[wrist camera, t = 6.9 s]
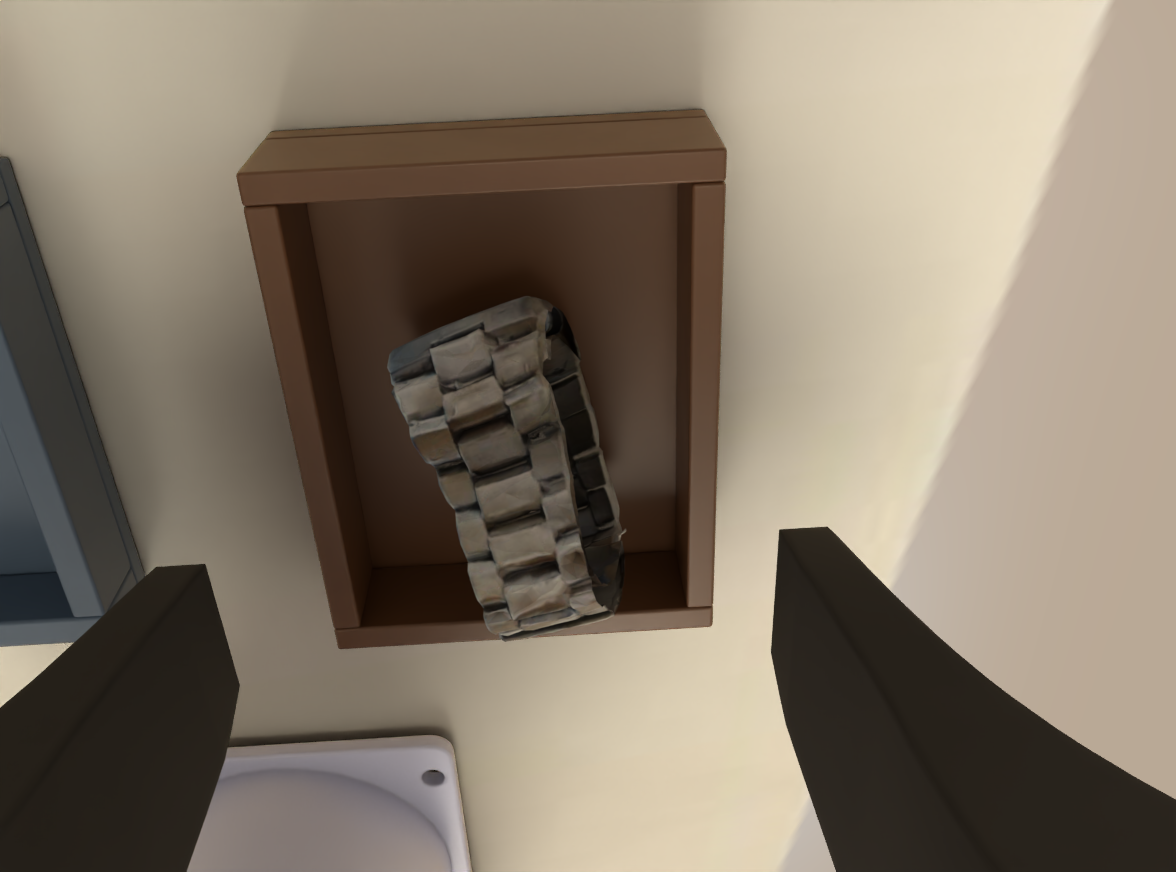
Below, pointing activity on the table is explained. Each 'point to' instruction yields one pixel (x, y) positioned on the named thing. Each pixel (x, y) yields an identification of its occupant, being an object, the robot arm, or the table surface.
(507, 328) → the wristwatch
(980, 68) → the table surface
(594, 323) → the watch tray
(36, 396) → the bottle tray
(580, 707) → the table surface
